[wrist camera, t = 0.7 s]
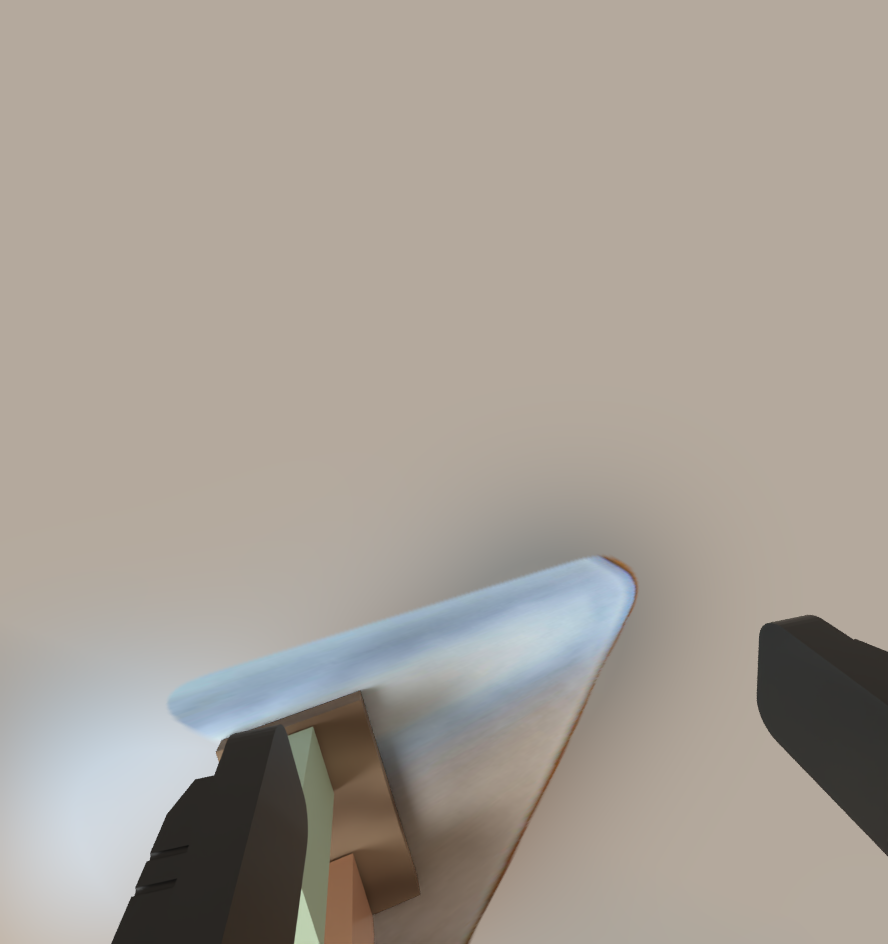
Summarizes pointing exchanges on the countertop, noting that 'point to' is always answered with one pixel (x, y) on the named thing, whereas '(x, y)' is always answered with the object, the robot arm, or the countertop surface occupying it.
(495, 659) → the countertop surface
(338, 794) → the brown wooden board
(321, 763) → the pale green block
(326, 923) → the peach rectangular block
